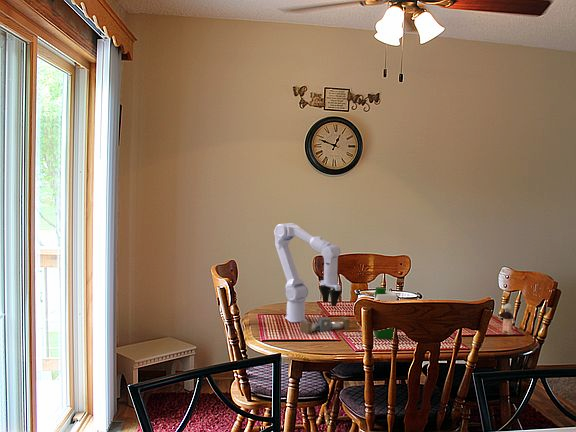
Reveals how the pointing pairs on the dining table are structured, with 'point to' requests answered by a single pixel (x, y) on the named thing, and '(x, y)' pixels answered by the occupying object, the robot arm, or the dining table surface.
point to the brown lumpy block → (308, 327)
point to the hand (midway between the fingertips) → (329, 304)
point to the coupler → (324, 323)
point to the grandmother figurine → (507, 319)
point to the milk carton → (384, 296)
